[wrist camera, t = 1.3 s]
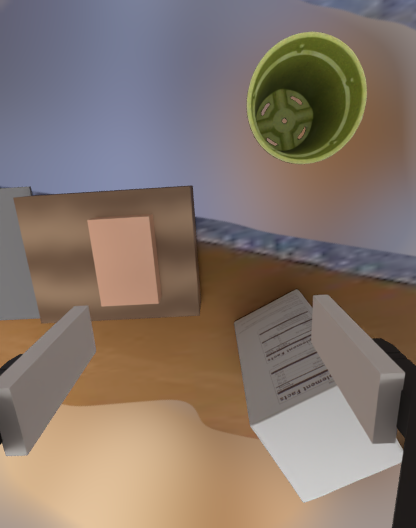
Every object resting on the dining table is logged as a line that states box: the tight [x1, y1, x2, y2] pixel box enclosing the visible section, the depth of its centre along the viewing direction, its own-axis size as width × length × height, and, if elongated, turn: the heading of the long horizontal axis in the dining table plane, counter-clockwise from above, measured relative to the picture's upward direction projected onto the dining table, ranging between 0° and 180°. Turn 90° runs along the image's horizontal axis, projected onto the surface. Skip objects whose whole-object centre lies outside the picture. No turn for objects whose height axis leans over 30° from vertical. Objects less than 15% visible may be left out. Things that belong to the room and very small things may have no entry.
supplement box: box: [234, 289, 403, 503], centre depth 31 cm, size 10×9×17 cm
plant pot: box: [247, 32, 367, 164], centre depth 28 cm, size 9×9×9 cm
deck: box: [13, 186, 201, 323], centre depth 35 cm, size 14×18×4 cm
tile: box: [87, 214, 162, 306], centre depth 32 cm, size 9×6×2 cm, turn 4°
